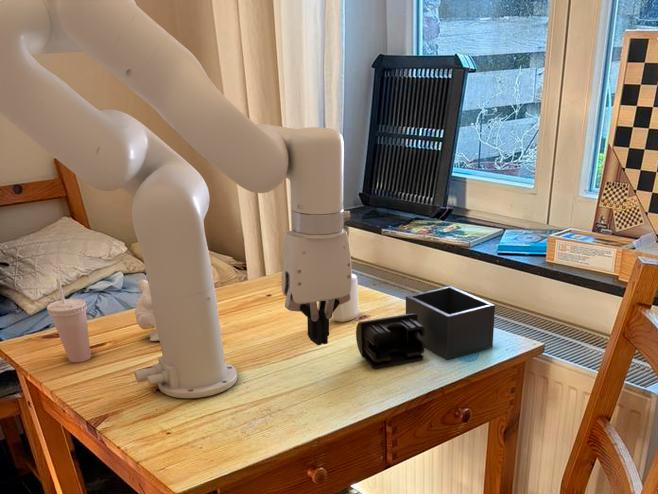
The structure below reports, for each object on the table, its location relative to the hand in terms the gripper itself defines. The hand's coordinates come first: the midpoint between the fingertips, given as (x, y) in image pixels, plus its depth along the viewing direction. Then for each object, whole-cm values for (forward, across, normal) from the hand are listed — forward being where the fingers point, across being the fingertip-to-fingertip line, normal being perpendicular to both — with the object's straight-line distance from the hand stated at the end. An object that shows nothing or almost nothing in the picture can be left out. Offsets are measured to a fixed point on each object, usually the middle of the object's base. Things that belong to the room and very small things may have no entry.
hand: (318, 341), depth 119 cm
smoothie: (+8, +31, -31) cm, 45 cm away
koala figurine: (+8, +16, -32) cm, 36 cm away
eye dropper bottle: (+6, -17, -21) cm, 27 cm away
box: (+4, -25, +1) cm, 25 cm away
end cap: (+5, -13, +1) cm, 14 cm away
